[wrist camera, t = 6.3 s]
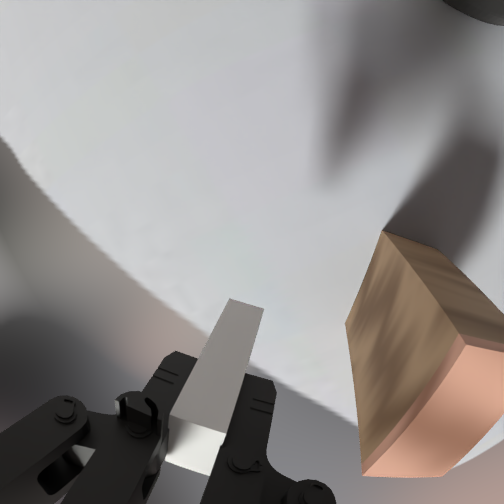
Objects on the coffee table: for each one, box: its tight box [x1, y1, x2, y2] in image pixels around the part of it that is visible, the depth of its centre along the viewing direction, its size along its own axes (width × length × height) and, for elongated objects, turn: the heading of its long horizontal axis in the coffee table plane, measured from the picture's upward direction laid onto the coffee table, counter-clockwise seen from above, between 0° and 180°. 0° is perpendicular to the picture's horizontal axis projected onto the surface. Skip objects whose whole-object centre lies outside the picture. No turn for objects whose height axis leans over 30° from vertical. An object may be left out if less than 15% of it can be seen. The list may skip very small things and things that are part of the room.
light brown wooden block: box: [345, 230, 504, 477], centre depth 16 cm, size 8×5×14 cm, turn 167°
